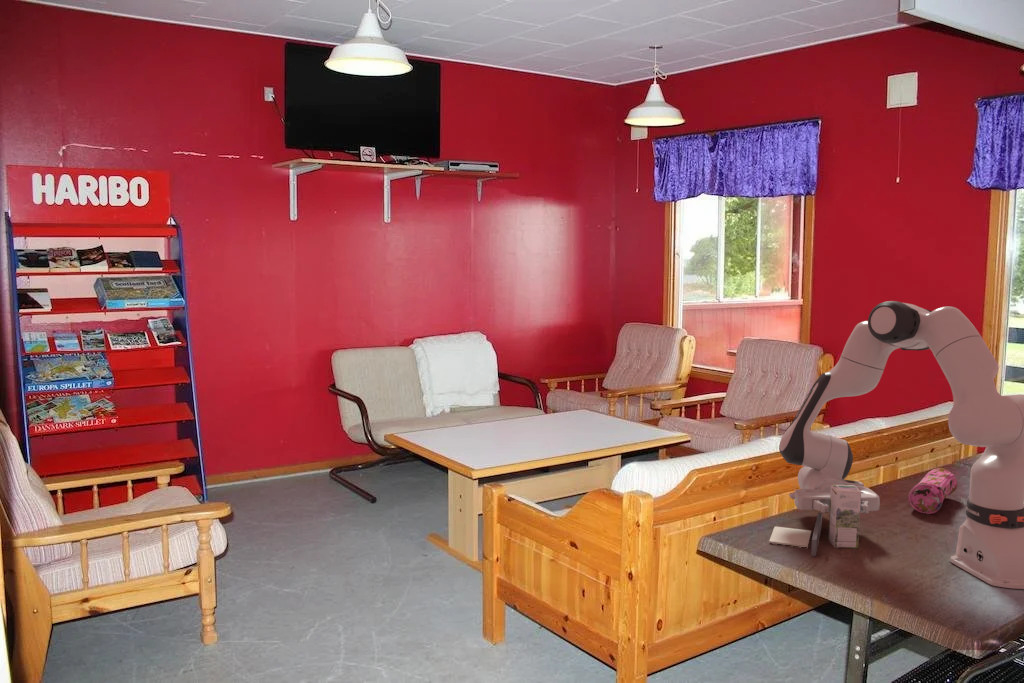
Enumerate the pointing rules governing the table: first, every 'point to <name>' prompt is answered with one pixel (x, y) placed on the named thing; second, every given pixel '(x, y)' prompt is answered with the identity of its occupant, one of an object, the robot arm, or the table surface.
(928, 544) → the table surface
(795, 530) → the pad
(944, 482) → the pencil case
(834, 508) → the syrup box
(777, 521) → the table surface
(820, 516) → the low wall
